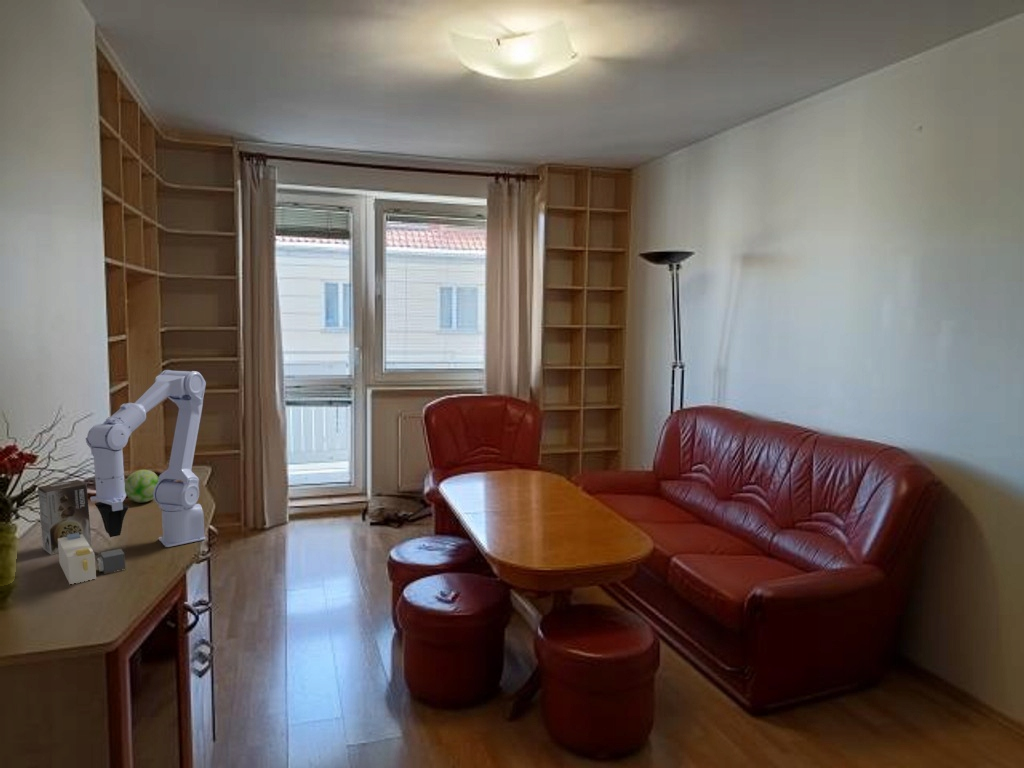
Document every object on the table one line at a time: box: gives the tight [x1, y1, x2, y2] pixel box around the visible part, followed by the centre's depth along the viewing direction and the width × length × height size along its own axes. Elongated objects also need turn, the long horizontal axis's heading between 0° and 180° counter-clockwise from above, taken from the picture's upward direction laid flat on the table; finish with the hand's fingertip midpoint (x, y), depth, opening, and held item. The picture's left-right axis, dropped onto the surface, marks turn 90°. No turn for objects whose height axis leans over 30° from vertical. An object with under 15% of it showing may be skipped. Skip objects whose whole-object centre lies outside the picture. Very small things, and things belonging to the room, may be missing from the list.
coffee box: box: [37, 479, 93, 556], centre depth 172 cm, size 9×6×16 cm
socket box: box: [58, 533, 97, 585], centre depth 158 cm, size 5×19×7 cm, turn 40°
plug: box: [96, 548, 126, 575], centre depth 159 cm, size 5×4×4 cm
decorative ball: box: [124, 469, 159, 504], centre depth 212 cm, size 10×10×10 cm
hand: (113, 533), depth 159 cm, fingers open, 3 cm apart
